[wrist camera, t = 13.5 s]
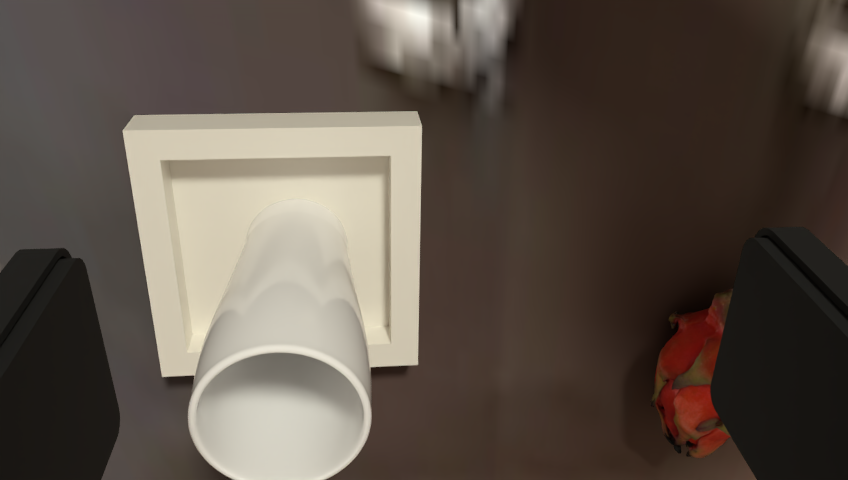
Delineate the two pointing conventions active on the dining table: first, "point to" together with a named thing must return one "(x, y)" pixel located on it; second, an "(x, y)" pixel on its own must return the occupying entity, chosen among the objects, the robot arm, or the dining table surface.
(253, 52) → the dining table surface
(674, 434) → the dragon fruit
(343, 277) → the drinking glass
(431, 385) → the dining table surface
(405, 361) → the tray
